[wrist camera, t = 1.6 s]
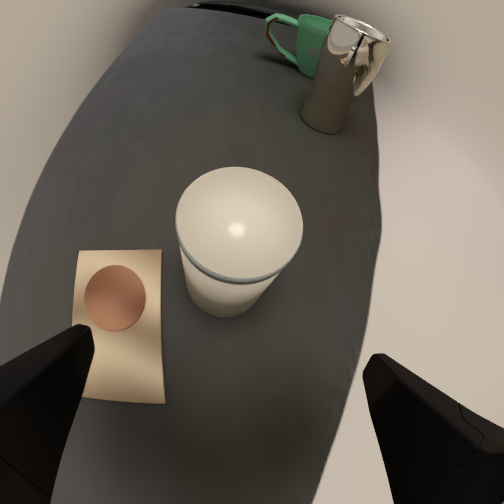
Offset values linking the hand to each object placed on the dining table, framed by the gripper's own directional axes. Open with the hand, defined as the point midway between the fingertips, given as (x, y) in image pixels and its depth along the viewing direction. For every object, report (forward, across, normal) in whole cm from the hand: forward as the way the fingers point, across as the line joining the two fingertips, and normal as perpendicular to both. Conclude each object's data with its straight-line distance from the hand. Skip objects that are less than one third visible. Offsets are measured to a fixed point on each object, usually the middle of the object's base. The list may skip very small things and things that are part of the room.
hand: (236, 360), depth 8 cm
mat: (+10, +8, +8) cm, 15 cm away
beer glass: (+30, -10, -12) cm, 34 cm away
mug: (+41, -8, -22) cm, 47 cm away
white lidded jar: (+14, 0, +4) cm, 14 cm away
